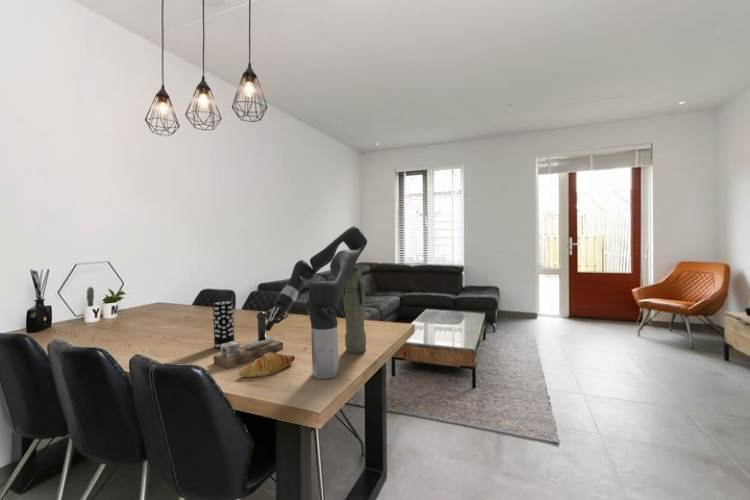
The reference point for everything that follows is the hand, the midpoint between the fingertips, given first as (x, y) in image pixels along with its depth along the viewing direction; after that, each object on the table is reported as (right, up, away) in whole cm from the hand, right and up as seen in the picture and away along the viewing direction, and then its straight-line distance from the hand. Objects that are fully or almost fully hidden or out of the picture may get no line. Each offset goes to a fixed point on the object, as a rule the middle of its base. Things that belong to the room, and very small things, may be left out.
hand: (266, 329), depth 146 cm
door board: (-4, -9, -7) cm, 12 cm away
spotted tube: (-21, -9, +6) cm, 24 cm away
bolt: (-2, -6, -3) cm, 7 cm away
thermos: (+40, -8, -3) cm, 41 cm away
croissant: (+8, -10, -23) cm, 26 cm away
